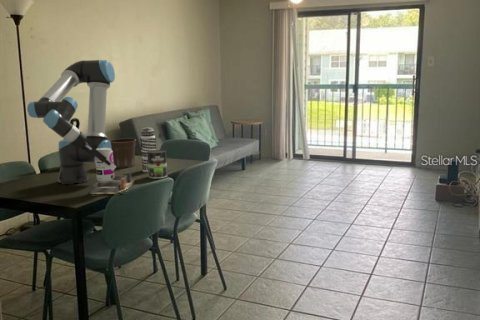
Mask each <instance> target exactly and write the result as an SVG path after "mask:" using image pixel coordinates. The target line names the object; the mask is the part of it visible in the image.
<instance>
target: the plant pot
mask: <svg viewBox="0 0 480 320" xmlns="http://www.w3.org/2000/svg"><path fill="white" fill-rule="evenodd" d="M109 141H110V143H111V150H112V151H113V163H114V165H115V166H117V167H116V168H118V169H125V168H131V167H134V166H135V165H136V162H135V159H136V158H135V157H136V155H135V153H136V141H137V139H136V138H129V137H126V138H125V137H124V138H123V137H122V138H115V139H114V138H113V139H110V140H109Z"/></svg>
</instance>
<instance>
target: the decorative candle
mask: <svg viewBox="0 0 480 320" xmlns="http://www.w3.org/2000/svg"><path fill="white" fill-rule="evenodd" d="M139 140H140V147H141V148H140V150H141V158H142V159H141V163H142V165H141V166H142V172H143V173H148V156H147V151H151V150H157V147H156V146H157V141H156V140H157V138H156V135H155V129H154V128H153V127H152V126H151V127H148V126H147V127H142V128H141V130H140V139H139Z"/></svg>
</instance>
